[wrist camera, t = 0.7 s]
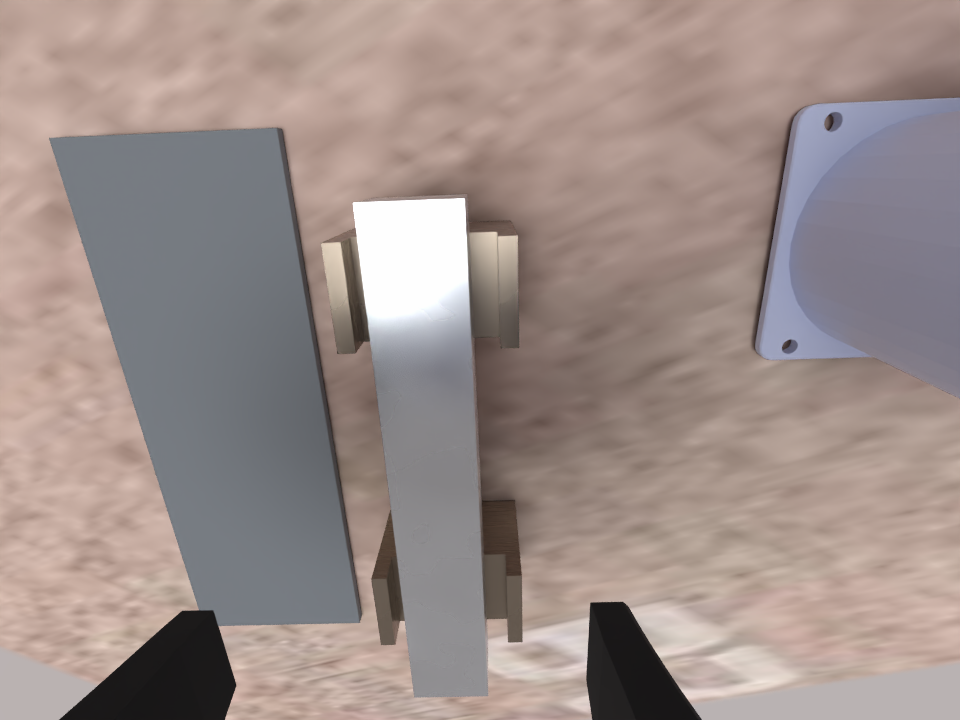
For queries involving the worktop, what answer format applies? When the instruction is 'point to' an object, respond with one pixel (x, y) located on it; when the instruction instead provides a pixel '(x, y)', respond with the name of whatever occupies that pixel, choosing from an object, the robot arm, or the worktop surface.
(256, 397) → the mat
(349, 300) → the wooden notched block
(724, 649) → the worktop surface
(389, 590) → the post
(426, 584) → the rail
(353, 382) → the worktop surface
